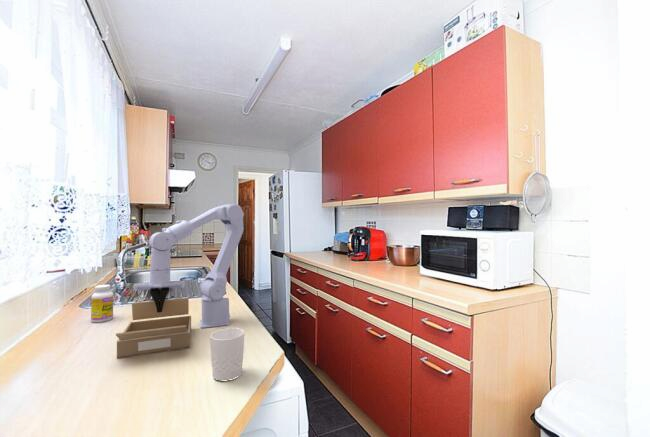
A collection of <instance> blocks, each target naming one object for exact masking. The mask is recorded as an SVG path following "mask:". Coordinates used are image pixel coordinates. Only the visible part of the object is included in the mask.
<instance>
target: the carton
mask: <svg viewBox="0 0 650 437" xmlns="http://www.w3.org/2000/svg"><path fill="white" fill-rule="evenodd" d="M182 325H186V329H187V332H181V333H173V334H165V335H157V336H149V337H142V338H134V339H126V340H120V339H119V338H118V339H117V341H116V359H122V358H123V359H124V358H130V357H134V356H136V357H137V356H143V355H149V354H156V353H163V352H170V351H177V350H178V351H179V350H183V349H189V348H190V346H191V337H192V334H191V333H192V315H186V316H185V315H182V316H173V317H164V318H155V319H148V320H147V319H146V320H139V321H138V320H137V321H131V322H130V321H129V323H128V325H127V326H126V328H125V329H124V331H123V332H122V333H124V332H132V331H141V330H149V329H157V328H165V327H174V326H182Z"/></svg>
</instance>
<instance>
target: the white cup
mask: <svg viewBox="0 0 650 437" xmlns="http://www.w3.org/2000/svg"><path fill="white" fill-rule="evenodd" d="M209 337H210V359H211V367H212V369H211V371H212V378H213V377H214V378H215V379H217V380H229V379H233V378H235V377H237V376H239V375H240V374H241V375H242V372H243V361H244V353H245V352H244V350H245V330H244V329H242V328H238V327H227V328H226V327H225V328H221V329H217V330H215V331H213V332H212V333H211V334H210V335H209ZM239 377H240V376H239ZM214 378H213V379H214Z"/></svg>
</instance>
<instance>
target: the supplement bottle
mask: <svg viewBox="0 0 650 437" xmlns="http://www.w3.org/2000/svg"><path fill="white" fill-rule="evenodd" d="M90 300H91V302H90V306H91V307H90V314H91V315H90V320H91V322H92V323H95V324H97V323H106V322H108V321H111V320H112V319H113V318H114V293H113V291H111V285H110V284H99V285H96V286H94V293H93V294H92V295H91V298H90Z"/></svg>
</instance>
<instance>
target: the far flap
mask: <svg viewBox="0 0 650 437" xmlns="http://www.w3.org/2000/svg"><path fill="white" fill-rule="evenodd" d="M189 302H190V301H189V297H184V298H183V297H182V298H172V299H171V298H170V299H165V301H164V304H163V310H162V312H158V313H157V309H156V305H155V302H154V300H149V301H147V300H146V301H138V302H131V311H132V312H131V314H132V316H131V317H132V321H138V320H139V321H142V320H147V319H148V320H151V319H160V318H169V317H178V316H185V315H186V316H188V315H189V312H190V311H189V308H190V306H189Z"/></svg>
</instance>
